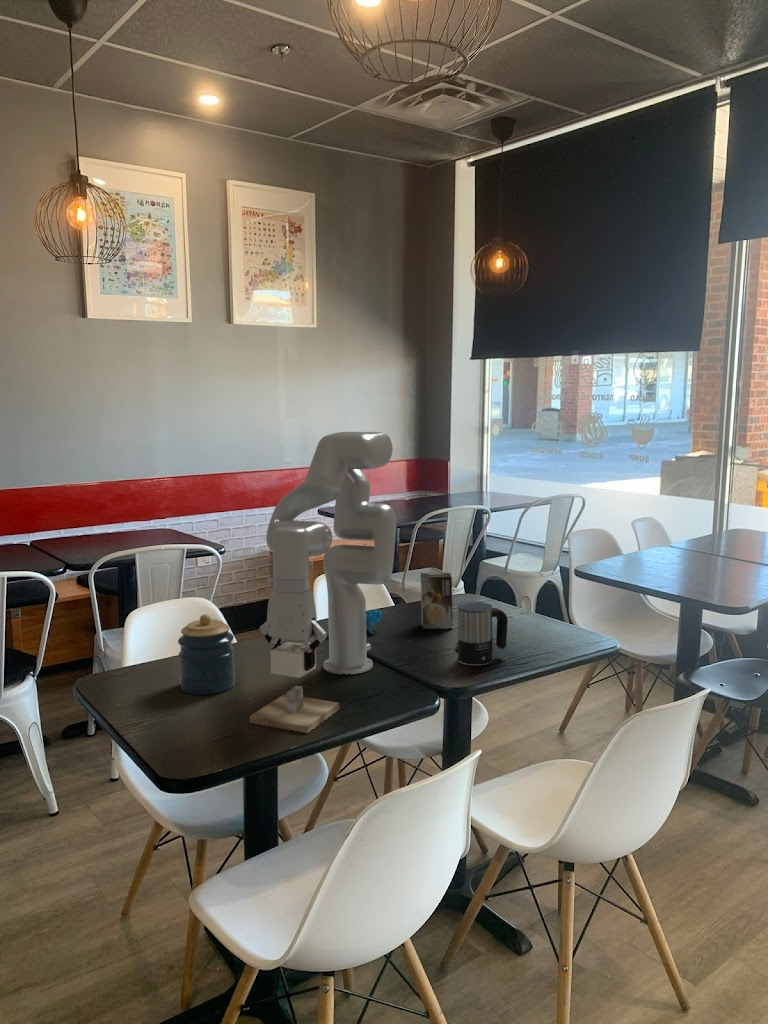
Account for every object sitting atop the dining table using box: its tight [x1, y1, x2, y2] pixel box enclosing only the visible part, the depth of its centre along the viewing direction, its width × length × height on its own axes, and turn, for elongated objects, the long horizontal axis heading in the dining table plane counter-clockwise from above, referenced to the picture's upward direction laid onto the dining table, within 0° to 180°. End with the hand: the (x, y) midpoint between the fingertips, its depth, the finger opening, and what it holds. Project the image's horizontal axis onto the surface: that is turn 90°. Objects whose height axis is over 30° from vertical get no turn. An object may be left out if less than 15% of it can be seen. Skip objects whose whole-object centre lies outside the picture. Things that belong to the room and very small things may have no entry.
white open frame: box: [269, 641, 317, 679], centre depth 169 cm, size 7×7×5 cm
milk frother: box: [455, 601, 508, 664], centre depth 209 cm, size 14×16×15 cm
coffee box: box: [420, 572, 454, 628], centre depth 237 cm, size 9×6×16 cm
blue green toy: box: [366, 609, 383, 632], centre depth 231 cm, size 11×6×10 cm
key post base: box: [249, 685, 340, 734], centre depth 171 cm, size 14×14×6 cm
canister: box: [177, 613, 236, 696], centre depth 189 cm, size 13×13×18 cm
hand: (293, 666), depth 169 cm, fingers closed on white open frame, 7 cm apart
